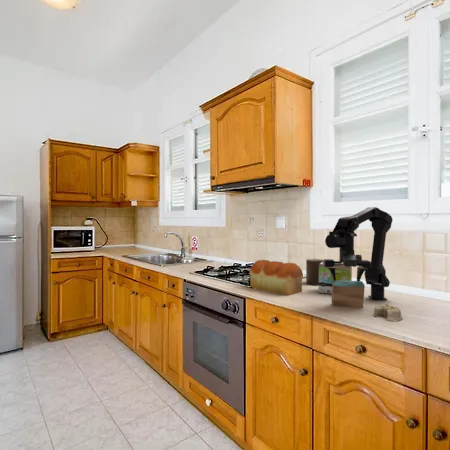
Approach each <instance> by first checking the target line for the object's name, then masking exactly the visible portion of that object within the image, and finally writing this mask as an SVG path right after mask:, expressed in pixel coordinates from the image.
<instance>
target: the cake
mask: <svg viewBox="0 0 450 450" xmlns="http://www.w3.org/2000/svg"><path fill="white" fill-rule="evenodd" d="M372 316H373V317H374V318H376V317H384V318H386V321H390V320H391V321H392V320H399V321H402V320H403V319H404V318H403V316H402V312H401V310H400V308H399V307H397V306H395V305H390V304H388V303H386V304H380V305H379V304H378V305H376V306H375V307H374V309H373V314H372ZM375 316H376V317H375Z"/></svg>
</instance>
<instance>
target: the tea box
mask: <svg viewBox="0 0 450 450" xmlns="http://www.w3.org/2000/svg"><path fill="white" fill-rule="evenodd" d="M352 267H353V266H348V267H346V266H340V265H335V266H334V268H335V276H336V281H353V275H352V273H353V272H352V271H353V269H352ZM332 280H333V277H332V274H331V272H330V270H329V269H327V268H326V267H324V266H323V262H321V263H320V264H319V283H318V285H317V286H318V288H317V289H318V293H321V294H322V293H324V294H331V295H332Z"/></svg>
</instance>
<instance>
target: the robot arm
mask: <svg viewBox="0 0 450 450" xmlns="http://www.w3.org/2000/svg"><path fill="white" fill-rule="evenodd" d="M367 221H369V222H370V223H371V227H372V230H373V232H374V234H373V241H372V242H373V243H372V249H371V259H370V260H368V259H362V257H363V256H362V254H355V237H357V236H358V234H357V233H355V232H356V230H357V229H358V228H359V226H360V224H362V223H364V222H367ZM392 223H393V217H392V216H391V215H390V213H388V212H386V211H384V210H381V209H380V208H379V207H377V206H369V207H366V208H364V209H363V210H361V211H359V212H357V213H355V214H354V215H351V216H344V217H340V218H339V219H337V222H336V224H335V225H334V228H333V230H332V231H329V232H328V233H329V234H328V235H326V237H325V240H324V242H325V246H326V247H327V248H330V249H338V248H339V256H338V257H339V259H338V260H334V259H332V258H328V259H327V258H324V259H322V260H323V266H324V267H326V268H327V269H329V270H330V272H331V274H332V277H333V280H336V276H335V268H334V266H335V265H340V266H346V267H348V266H352V267H353V268H357V269H356V281H361V279H362V276H363V274H364V279H365V282H366V285H370V295H367V297H368V298H369V299H371V300H373V301H375V300H377V301H378V300H379V301H387V300H388V299H387V298H386V297H385V288H388V287H389V286H390V283H391V282H390V280H389V278H388V277H387V274H386V273H387V272H386V268H385V266H384V264H383V262H384V256H385V255H384V254H385V246H386V238H387V233H388V232H389V231H390V229H391V228H392Z"/></svg>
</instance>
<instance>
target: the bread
mask: <svg viewBox="0 0 450 450" xmlns="http://www.w3.org/2000/svg"><path fill="white" fill-rule="evenodd" d="M249 270H250V271H249V275H250V288H251V287H252V288H251V289H253V288H256V289H255V290H258V289H260V291H263V290H264V292H268V291H269V293H273V292H274V293H273V294H278V293H279V295H285V296H293V295H295V294H300V293H302V292H303V278H304V274H303V269H301V267H300V265H298V264H296V263H293V262H282V261H275V260H273V261H270V260H268V259H260V260H256V261H255V262H253V264H252V265H251V267H250V268H249Z"/></svg>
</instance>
